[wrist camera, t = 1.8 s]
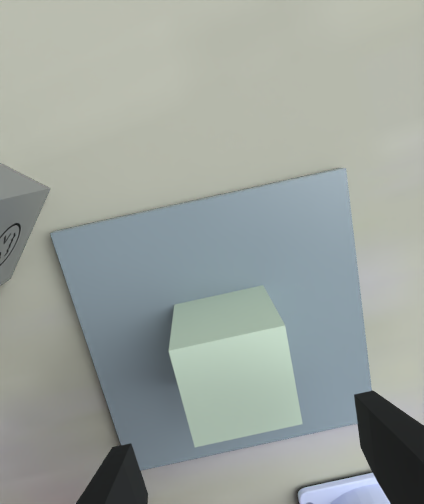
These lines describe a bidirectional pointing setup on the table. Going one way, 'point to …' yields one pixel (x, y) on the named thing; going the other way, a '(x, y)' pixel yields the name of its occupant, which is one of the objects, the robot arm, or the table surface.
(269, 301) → the sage brick
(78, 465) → the table surface
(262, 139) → the table surface
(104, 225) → the plate
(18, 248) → the dice cube
